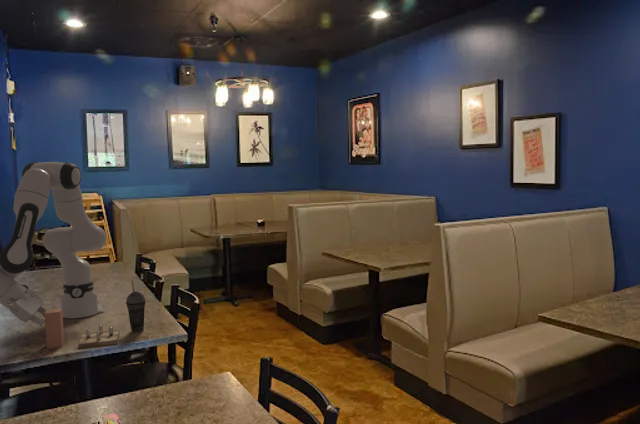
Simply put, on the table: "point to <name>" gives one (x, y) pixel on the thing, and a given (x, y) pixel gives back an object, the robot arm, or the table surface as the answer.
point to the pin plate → (99, 337)
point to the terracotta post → (54, 328)
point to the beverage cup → (136, 310)
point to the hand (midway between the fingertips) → (46, 320)
